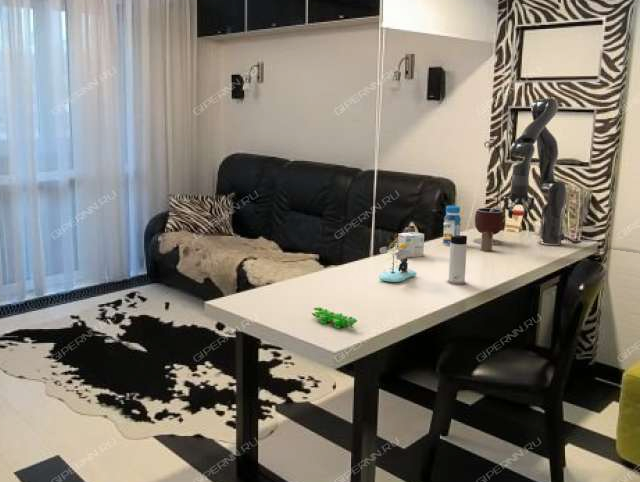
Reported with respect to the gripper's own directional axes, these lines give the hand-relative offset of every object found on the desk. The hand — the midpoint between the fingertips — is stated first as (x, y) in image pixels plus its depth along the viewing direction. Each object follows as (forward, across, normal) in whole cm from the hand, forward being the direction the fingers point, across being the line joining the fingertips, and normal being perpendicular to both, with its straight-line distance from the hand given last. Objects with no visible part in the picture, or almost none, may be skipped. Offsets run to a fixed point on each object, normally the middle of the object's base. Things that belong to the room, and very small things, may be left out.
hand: (517, 218), depth 294 cm
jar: (+17, +12, -4) cm, 22 cm away
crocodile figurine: (+18, +92, +107) cm, 142 cm away
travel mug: (+17, +40, +55) cm, 70 cm away
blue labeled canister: (+17, +27, -16) cm, 36 cm away
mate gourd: (+17, +7, -22) cm, 29 cm away
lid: (-3, 0, 0) cm, 3 cm away
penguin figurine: (+17, +63, +50) cm, 83 cm away
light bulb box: (+17, +52, +10) cm, 56 cm away
